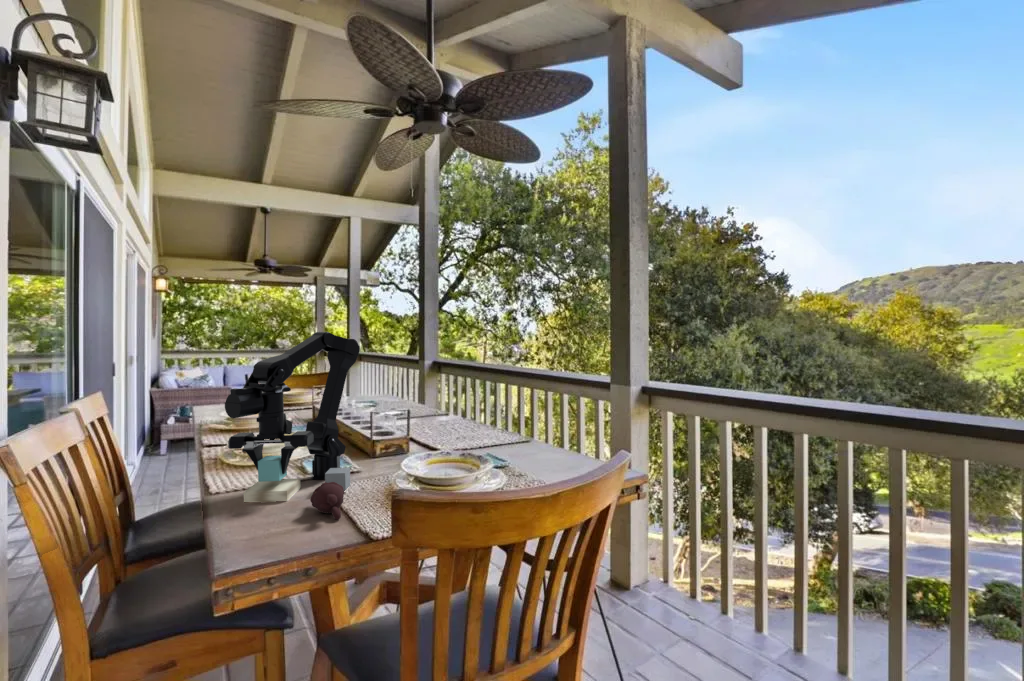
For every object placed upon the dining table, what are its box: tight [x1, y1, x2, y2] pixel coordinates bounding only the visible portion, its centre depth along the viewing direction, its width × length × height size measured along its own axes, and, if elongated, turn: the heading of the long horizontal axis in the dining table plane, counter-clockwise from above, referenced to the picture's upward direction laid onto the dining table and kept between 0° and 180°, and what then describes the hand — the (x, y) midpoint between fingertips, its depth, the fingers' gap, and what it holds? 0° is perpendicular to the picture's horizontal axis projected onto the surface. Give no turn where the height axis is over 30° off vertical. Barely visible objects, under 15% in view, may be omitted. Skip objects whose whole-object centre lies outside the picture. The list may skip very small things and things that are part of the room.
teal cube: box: [257, 455, 288, 482], centre depth 129 cm, size 5×5×5 cm
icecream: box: [309, 481, 345, 521], centre depth 118 cm, size 7×7×15 cm
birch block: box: [243, 477, 301, 503], centre depth 129 cm, size 10×10×3 cm
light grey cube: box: [324, 467, 351, 491], centre depth 133 cm, size 5×5×5 cm
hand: (272, 474), depth 129 cm, fingers closed on teal cube, 5 cm apart
